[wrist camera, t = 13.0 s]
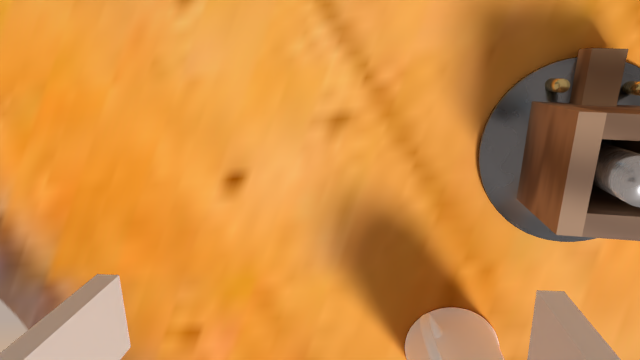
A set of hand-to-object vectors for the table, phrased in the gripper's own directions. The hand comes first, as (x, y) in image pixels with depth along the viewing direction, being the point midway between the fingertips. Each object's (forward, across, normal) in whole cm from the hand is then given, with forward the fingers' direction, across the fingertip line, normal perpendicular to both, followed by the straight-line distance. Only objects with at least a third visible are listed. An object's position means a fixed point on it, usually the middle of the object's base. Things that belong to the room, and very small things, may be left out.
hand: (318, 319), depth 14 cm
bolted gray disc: (+24, +18, 0) cm, 30 cm away
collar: (+24, +18, +2) cm, 30 cm away
